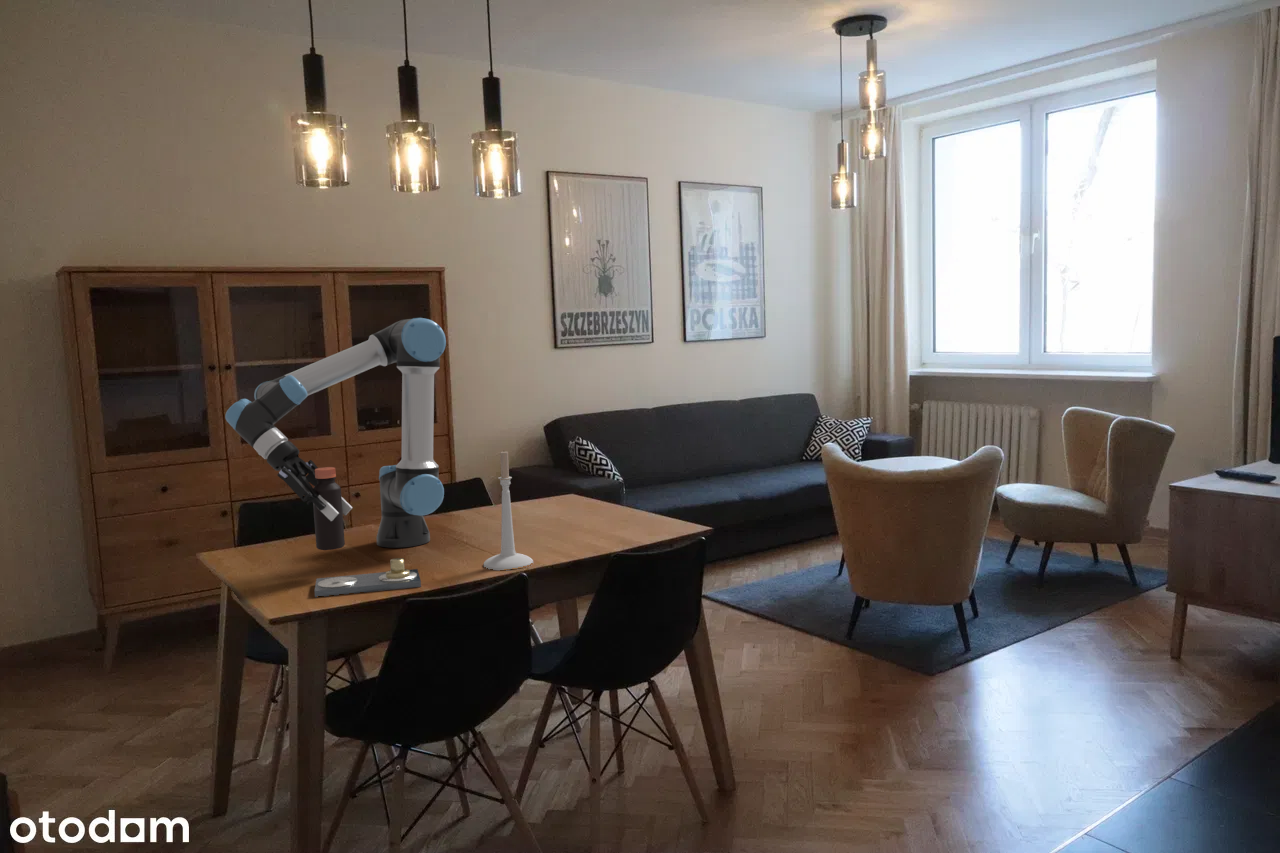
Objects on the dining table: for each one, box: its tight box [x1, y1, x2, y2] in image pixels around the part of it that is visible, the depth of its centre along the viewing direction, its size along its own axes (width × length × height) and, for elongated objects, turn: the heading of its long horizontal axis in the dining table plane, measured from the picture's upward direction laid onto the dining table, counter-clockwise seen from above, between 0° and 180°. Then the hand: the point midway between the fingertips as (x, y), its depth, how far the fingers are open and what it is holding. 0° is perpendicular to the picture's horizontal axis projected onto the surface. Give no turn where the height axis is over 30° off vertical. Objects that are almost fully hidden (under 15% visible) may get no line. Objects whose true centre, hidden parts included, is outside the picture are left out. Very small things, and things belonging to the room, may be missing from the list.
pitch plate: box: [314, 557, 422, 598], centre depth 224 cm, size 24×12×6 cm, turn 107°
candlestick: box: [483, 451, 534, 571], centre depth 240 cm, size 13×13×30 cm
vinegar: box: [312, 466, 346, 551], centre depth 232 cm, size 7×7×20 cm
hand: (341, 514), depth 232 cm, fingers closed on vinegar, 6 cm apart
